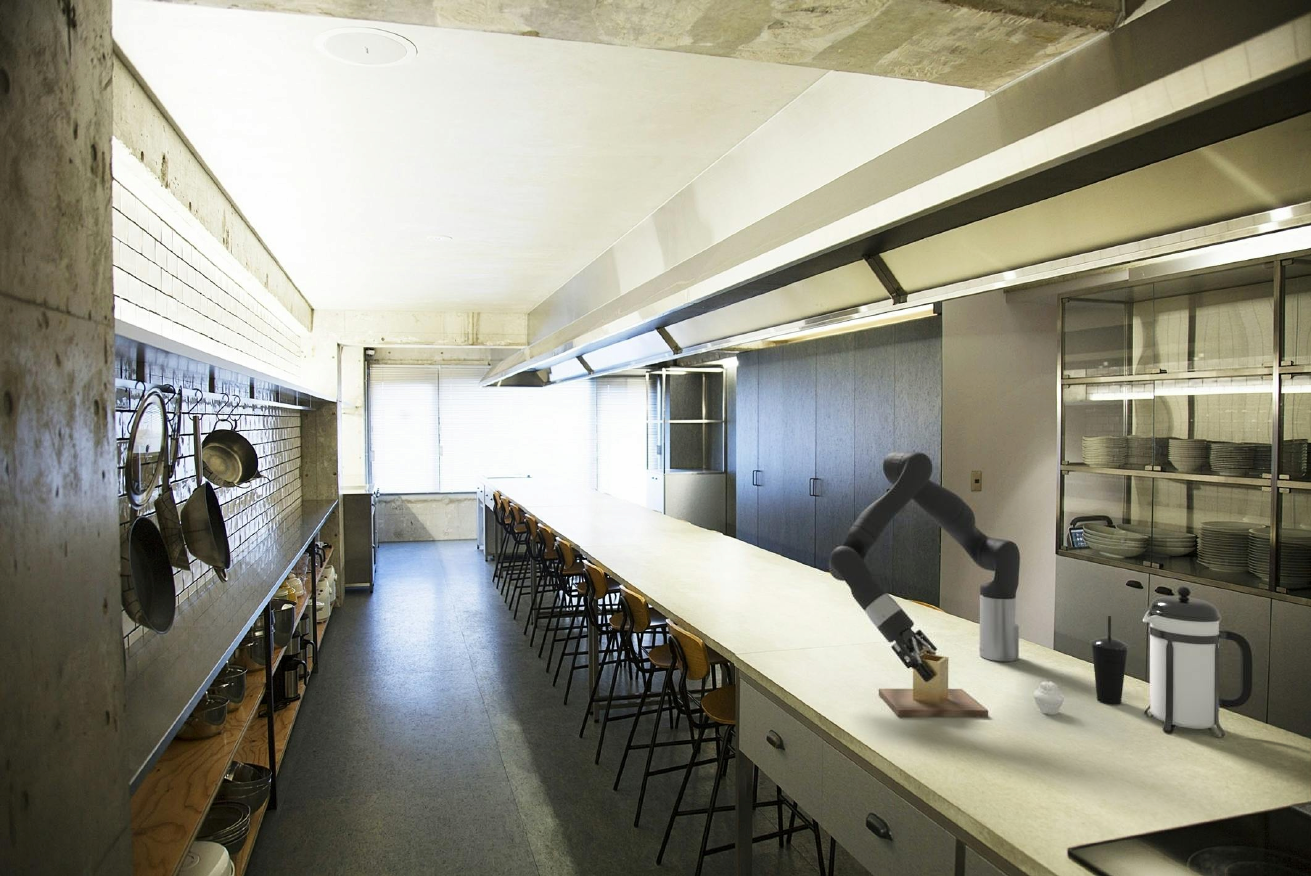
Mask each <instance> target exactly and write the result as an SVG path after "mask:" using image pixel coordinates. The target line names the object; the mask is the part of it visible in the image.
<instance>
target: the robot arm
mask: <svg viewBox="0 0 1311 876" xmlns="http://www.w3.org/2000/svg"><path fill="white" fill-rule="evenodd" d="M882 471H883V474H884V476H885V478H886V480H887V481H888V482H889V483H890V484H891V485H892V487H891V488H890V489H889V490H888V491H886V493H885V494H883V495H882V496H881V497H879V498H878V499H876V500H875V501H874V502H873V503H871V504H869V506H867V507H866V508H865V509H863V510H862V512H861V513H860V514H859V515H858V517H857V518H856V520H855V521H854V523H853V524H852V525H851V527H850V529H849V530H848V531H847V535H846V537H845V539H844V541H843V542H842V544H841V545H840V546H837V547H835V548H834V549H833V550H832V551H831V554H830V557H829V561H828V570H829V573H830V575H831V576H832V577H833V578H834V579H835V580H837V581H842V582H843V581H844V582H845V583H846V584H847V586H848V587H849V589H850V591H851V595H852V597H853V598H854V600H855V602H856V603H857V604H858V605H859V606H860V608H862V610H863V611H864V612H865V613H866V615H867V617H868V619H869V620H870V621H871V622H872V624H873V625H874V626H875V627H876V629H877V630H878V631H879V633H880V634H881V635H882V636H883V637H884V638H885V640H886V641H887V642H888V643H891V644H892V643H893V642H895V643H893V644H892V645H891V647H890V648H891V649H892V650H893V652H894V653H895V654H896V655H897V657H898V658H899V660H900V661H901V662H902V664H904V666H905V667H906V669H912V670H913V669H915V670H916V671H917V672H918V674H919V675H920V676H921V677H922V678H923V680H924V681H925V682H928V681H930V680H931V679H932V678H933V675H932V673H931V672H930V671H929V670H928V669H927V667H926V666H925V665H924V664H923V663H922V662H921V659H920V657H919V655H920V654H921V653H922V652H923V653H928V654H934V655H937V652H936V651H937V650H938V648H937V646H935V644H933V642H932V641H931V640H930V639H929V637H928V636H926V634H925V633H924V632H923V631H922V630H921V629H918V630H916V631H914V630H912V627H914V624H915V623H914V621H913V620H912V618H910V615H908V614H907V613H906V612H905V610H903V608H902V607H901V605H899V603H898V602H897V601H896V600H895V599H894V598H893V597H892V596H891V595H890V594H889V593H888V592H887V591H886V590H885V589H884V587H883V586H882V585H881V584H880V583H879V582H878V580H876V579H875V576H874V575H873V573H872V572H871V571H870V569H869V567H868V565H867V564H866V562H865V559H866V557H867V556H868V554H869V552H870V551H871V549H872V548H873V547H874V546H875V545H876V543H877V542H878V540H879V539H880V538H881V536H882V534H883V533H884V532H885V530H886V528H887V527H888V526H889V524H890V523H891V522H892V520H893V519H894V518H895V517H896V516H897V515H898V514H899V513H900V511H902V510H903V508H904V507H906V505H907V504H908V503H910V501H911V500H913V502H914V503H915V504H917V506H918V507H920V508H921V510H923V511H924V512H925V513H926V514H927V515H928V516H929V517H931V519H932V520H933V521H934V522H935V523H936V524H937V525H938V526H939V527H940V528H941V529H943V530H944V531H945V532H946V533H947V534H948V535H949V536H950V537H951V538H952V539H954V540H955V542H957V543H958V544H959V545H960V546H961V547H962V548H963V550H964V551H965V552H966V553H967V555H968V556H969V557H970V558H971V559H972V561H973V562H974V563H975V564H976V565H977V566H978V567H979V568H980V569H983V570H986V571H989V572H994V577H993V580H991V581H988V582H984V583H982V584H981V585H980V586H979V656H980V657H981V658H984V659H987V660H990V661H997V662H1012V661H1017V660H1018V661H1019V660H1020V659H1019V657H1020V656H1019V655H1020V651H1019V650H1020V649H1019V647H1020V645H1019V644H1020V643H1019V642H1020V641H1019V640H1020V628H1019V627H1020V626H1019V625H1018V624H1016V623H1017V621H1016V620H1017V619H1016V618H1017V615H1016V612H1017V610H1016V609H1017V608H1016V606H1017V605H1016V604H1017V602H1016V601H1017V598H1016V597H1017V590H1018V587H1019V584H1020V583H1019V579H1020V565H1021V564H1020V563H1021V555H1020V549H1019V547H1018V545H1017V544H1016V543H1015V542H1014V541H1013V540H1012V541H1011V540H1009V539H1000V538H995V537H990V536H987V535H986V534H985V533H983V532H982V531H981V530H980V529H979V528H978V527H977V526H976V517H975V516H976V515H975V513H974V511H973V509H972V508H971V507H970V506H969V505H968V504H967V503H966V502H965V501H964V500H963V499H962V498H961V497H960V496H959V495H957V493H955V492H953V491H952V490H949V489H948V488H946V487H944V486H942V485H940V484H938V483H936V482H935V481H932V480H930V479H931V476H932V474H933V463H932V460H931V459H930V457H929V456H928V455H927V454H925V453H924V452H920V451H906V450H904V451H903V450H901V451H893V452H891V453H889V454H887V455H886V456H885V458H884V459H883V463H882ZM921 663H922V664H921Z"/></svg>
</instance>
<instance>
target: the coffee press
mask: <svg viewBox="0 0 1311 876" xmlns="http://www.w3.org/2000/svg"><path fill="white" fill-rule="evenodd" d="M1177 593H1178V595H1179V596H1178V595H1177V596H1176V595H1164V596H1161V597H1160V596H1159V597H1156V598H1155V599H1153V600H1152V602H1151V603H1150V605H1149V606H1148V607H1147V612H1146V613H1145V614H1144V617H1143V619H1142V622H1143V623H1148V633H1149V705H1148V707H1147V708H1146V709H1145V710H1144V711H1143V713H1144V716H1145V717H1147V718H1151V717H1153V716H1154V717H1155V718H1156V719H1158V720H1160V721H1162V722H1163V723H1164V724H1163V726H1162V731H1163V732H1164V733H1166V734H1170V735H1172V734H1173V733H1174V731H1175V729H1176V728H1177V727H1182V728H1187V729H1196V730H1199V729H1200V730H1202V729H1203V730H1204V729H1205V730H1206V729H1207V730H1209V731H1210V732H1211V733H1212V734H1213V736H1215V738H1217V739H1221V738H1223V737H1224V736H1226V731H1224V729H1223V728H1222V726H1221V724H1220V721H1219V720H1220V719H1219V717H1220V716H1219V712H1220V708H1238V707H1240V706H1243V705H1245V704H1246V703H1247V702H1248V701H1249V699H1250V697H1251V695H1252V689H1253V653H1252V648H1251V646H1250V644H1249V642H1248V640H1247V639H1246V638H1245V637H1244V636H1243V635H1240V634H1239V633H1236V632H1234V631H1230V630H1220V624H1219V623H1220V621H1221V620H1222V614H1221V613H1219V610H1218V609H1217V607H1216V606H1215V605H1214V604H1212V603H1210V602H1208V601H1206V600H1202V599H1199V598H1195V597H1189V596H1190V595H1191V590H1190V589H1189V588H1188V587H1187V586H1181V587H1179V588H1178V589H1177ZM1221 639H1223V640H1228V641H1229V640H1230V641H1233V642H1234V643H1236V644H1237V646H1238V648H1239V652H1240V655H1239V656H1240V669H1239V670H1240V671H1239V672H1240V675H1239V676H1240V677H1239V678H1240V684H1239V691H1238V693H1237V694H1236V695H1235V696H1234V697H1231V698H1230V697H1229V698H1224V697H1223V698H1221V697H1219V695H1220V693H1219V689H1220V687H1219V686H1220V685H1219V684H1220V681H1219V680H1220V678H1219V677H1220V675H1219V674H1220V672H1219V671H1220V670H1219V669H1220V667H1219V665H1220V663H1219V661H1220V649H1219V648H1220V647H1219V645H1220V641H1221ZM1149 710H1150V713H1151V714H1152V715H1151V714H1149V712H1148V711H1149ZM1215 726H1216V728H1217V730H1218V731H1219V732H1220V734H1221V735H1220V734H1219V733H1218V732H1217V731H1216V730H1215V729H1214V728H1213V727H1215Z"/></svg>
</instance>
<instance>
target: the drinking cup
mask: <svg viewBox="0 0 1311 876" xmlns="http://www.w3.org/2000/svg"><path fill="white" fill-rule="evenodd" d="M1090 645H1091V648H1092V650H1091V651H1092V660H1093V671H1094V679H1095V680H1094V681H1095V690H1096V700H1097V702H1099V703H1102V704H1105V705H1108V706H1109V705H1111V706H1119V705H1121V704H1122V698H1123V692H1124V691H1123V689H1124V682H1125V681H1124V680H1125V673H1126V672H1125V671H1126V663H1127V662H1126V661H1127V655H1128V653H1127V652H1128V649H1129V647H1130V646H1129V644H1128V643H1126V642H1124V641H1122V640H1119V639H1117V638H1113V637H1112V615H1111V616H1110V615H1107V636H1105V637H1103V636H1102V637H1097V638H1094V639H1091V640H1090Z"/></svg>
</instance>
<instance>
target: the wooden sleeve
mask: <svg viewBox="0 0 1311 876" xmlns="http://www.w3.org/2000/svg"><path fill="white" fill-rule="evenodd" d="M919 657H920V659H921V662H922V663H923V664H924V665H925V666H926V667H927V669H928V670H929V671H930V672H931V673H932V675H933V678H932V679H931V680H930V681H928V682H925V681H924V680H923V678H922V677H921V676H920V675H919V674H918V672H917V671H916V670H915V669H912V689H913V700H918V701H922V702H926V703H931V704H935V705H941V704H942V703H943V702H944V701H946V700H947V699H948V689H949V657H948V656H943V655H939V654H936V655H934V654H928V653H923V652H922V653H921V654H920V655H919ZM922 663H921V664H922Z"/></svg>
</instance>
